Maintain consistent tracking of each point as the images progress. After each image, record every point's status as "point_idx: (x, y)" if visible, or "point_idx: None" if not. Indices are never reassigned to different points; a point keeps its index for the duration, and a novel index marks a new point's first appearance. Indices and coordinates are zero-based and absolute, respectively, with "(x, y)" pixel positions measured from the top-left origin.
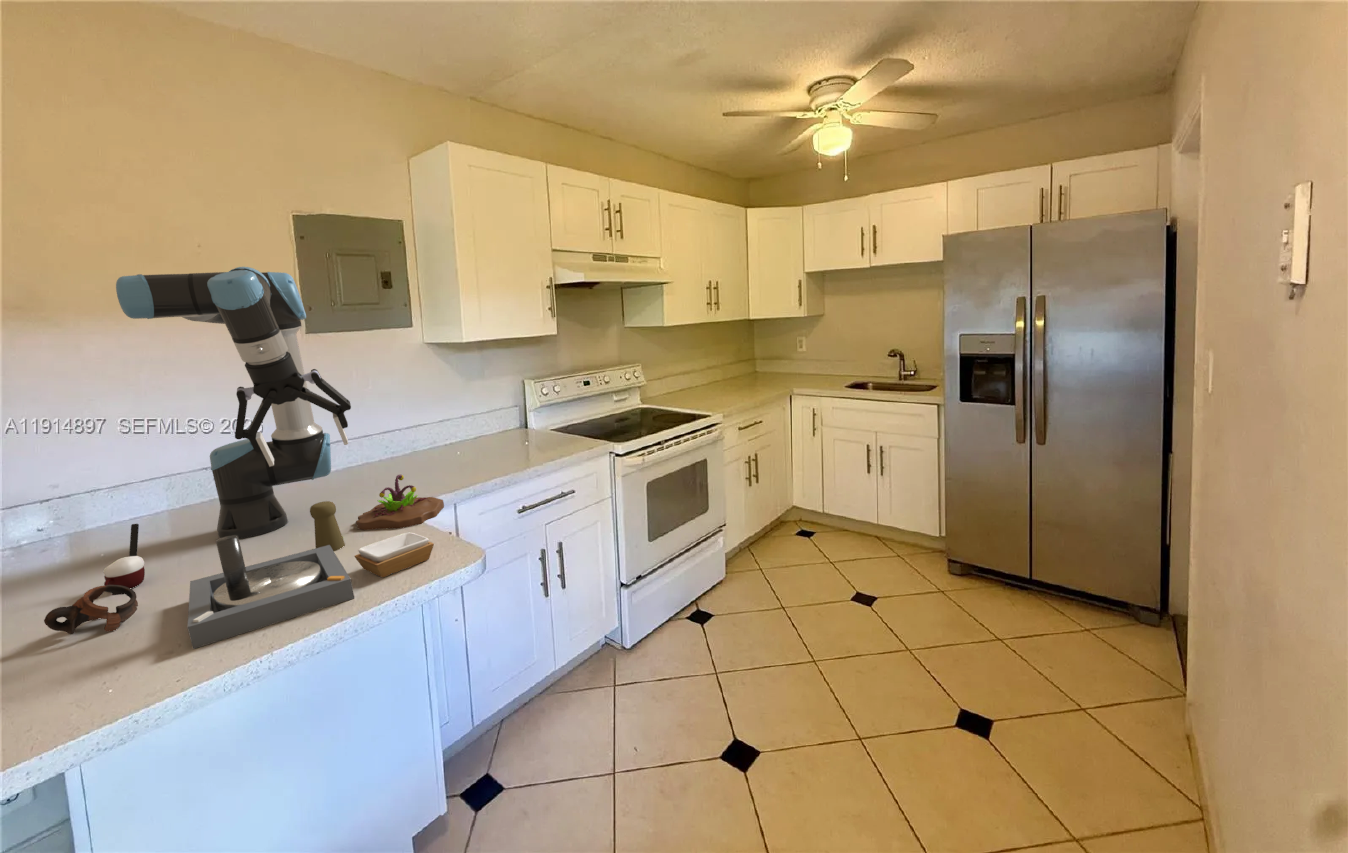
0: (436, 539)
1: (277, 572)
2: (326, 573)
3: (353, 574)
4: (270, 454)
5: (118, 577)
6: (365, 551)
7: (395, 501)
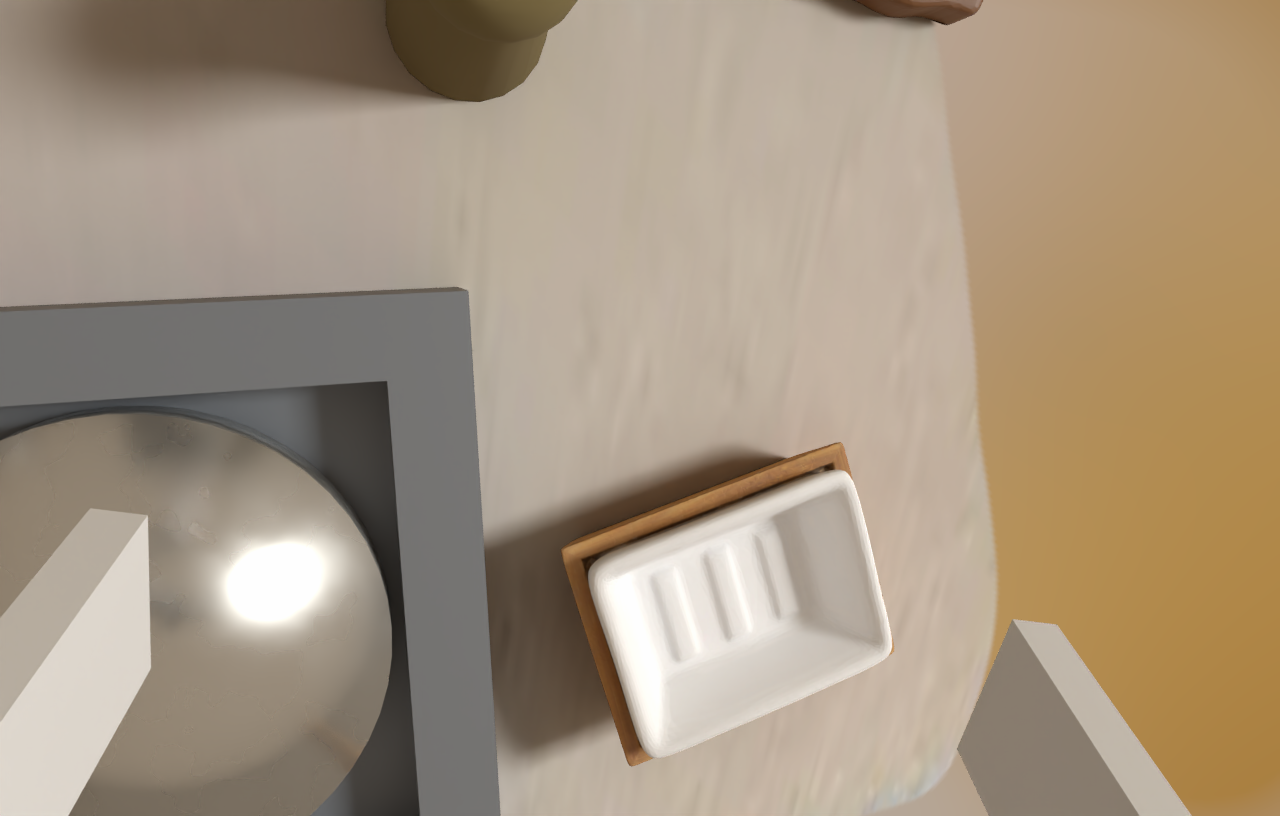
0: (928, 364)
1: (178, 567)
2: (414, 743)
3: (525, 558)
4: (97, 670)
5: None
6: (617, 645)
7: None
